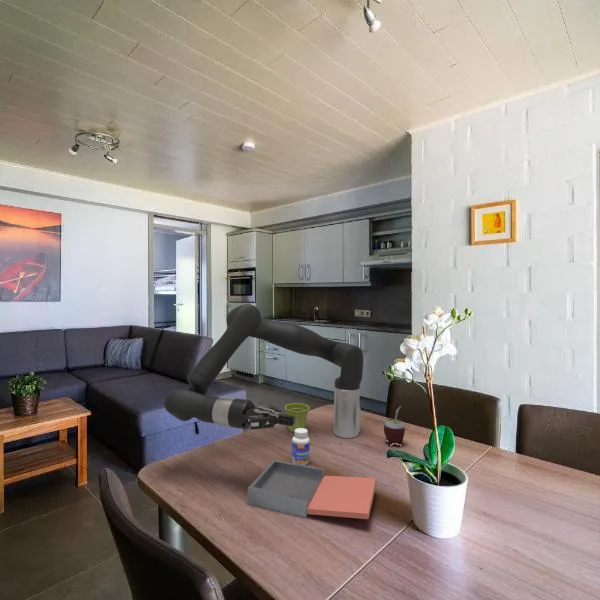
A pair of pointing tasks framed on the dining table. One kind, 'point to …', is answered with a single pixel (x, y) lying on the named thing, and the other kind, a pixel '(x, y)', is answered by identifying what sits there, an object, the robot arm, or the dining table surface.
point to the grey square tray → (285, 487)
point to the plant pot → (297, 415)
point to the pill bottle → (300, 447)
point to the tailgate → (343, 497)
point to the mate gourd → (394, 430)
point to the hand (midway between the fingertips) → (293, 421)
